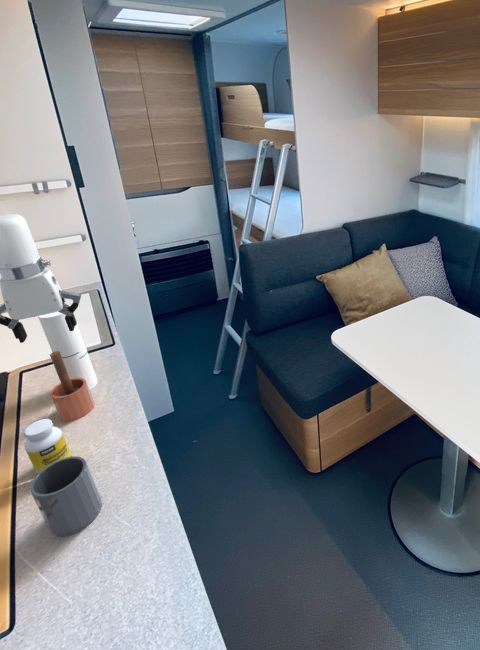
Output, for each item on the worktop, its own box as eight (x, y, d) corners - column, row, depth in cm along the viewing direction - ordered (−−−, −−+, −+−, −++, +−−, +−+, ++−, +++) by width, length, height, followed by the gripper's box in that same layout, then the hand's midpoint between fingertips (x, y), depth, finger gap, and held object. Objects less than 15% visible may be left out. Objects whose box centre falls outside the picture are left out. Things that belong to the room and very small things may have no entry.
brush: (66, 417, 105) (43, 360, 98) (69, 408, 108) (46, 351, 101) (85, 412, 106) (63, 355, 99) (87, 402, 110) (65, 346, 103)
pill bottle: (41, 484, 88) (21, 444, 83) (34, 467, 92) (15, 428, 87) (76, 465, 92) (59, 425, 88) (68, 449, 96) (52, 411, 92)
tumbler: (45, 545, 76) (24, 504, 72) (54, 506, 83) (36, 467, 79) (99, 523, 79) (82, 484, 75) (104, 488, 86) (88, 449, 82)
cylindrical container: (64, 389, 116) (33, 312, 106) (91, 375, 121) (64, 301, 111) (74, 399, 112) (43, 320, 102) (102, 384, 117) (75, 308, 108)
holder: (57, 426, 103) (47, 401, 100) (63, 407, 109) (53, 383, 106) (93, 416, 106) (83, 391, 103) (96, 398, 112) (87, 374, 109)
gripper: (71, 256, 98) (92, 317, 105) (-22, 271, 91) (8, 336, 98) (65, 267, 92) (89, 331, 99) (-34, 285, 85) (-2, 352, 92)
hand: (48, 334), depth 98 cm, fingers open, 9 cm apart
